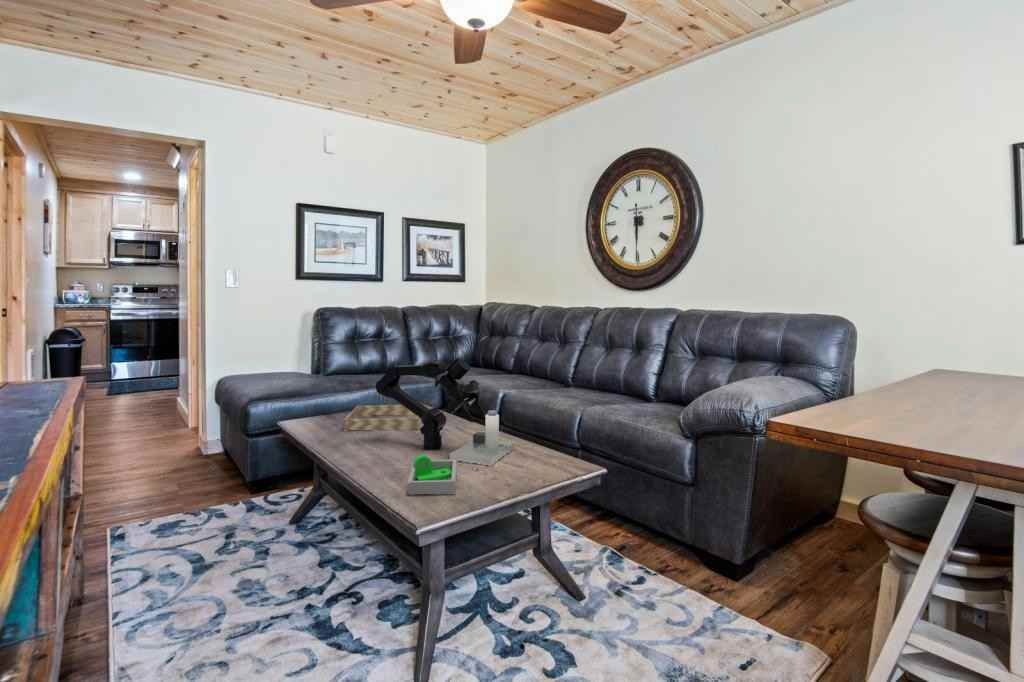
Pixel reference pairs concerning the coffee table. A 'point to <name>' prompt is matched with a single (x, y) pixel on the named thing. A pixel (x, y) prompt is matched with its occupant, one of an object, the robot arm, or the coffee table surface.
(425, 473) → the mechanical part
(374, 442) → the coffee table surface
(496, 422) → the cream bottle
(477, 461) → the plate
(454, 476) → the parts tray
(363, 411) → the woven basket tray
